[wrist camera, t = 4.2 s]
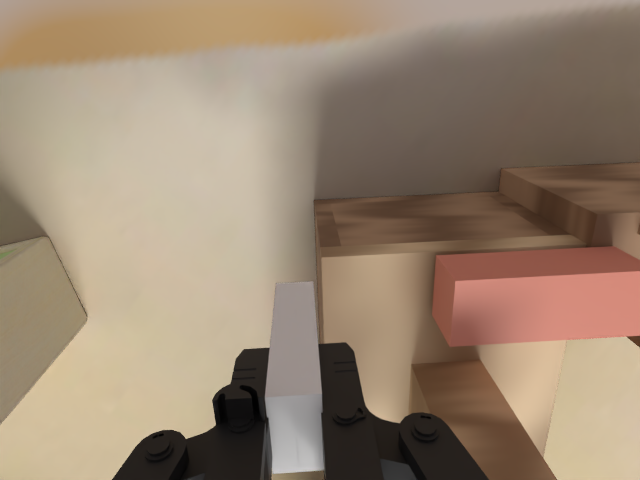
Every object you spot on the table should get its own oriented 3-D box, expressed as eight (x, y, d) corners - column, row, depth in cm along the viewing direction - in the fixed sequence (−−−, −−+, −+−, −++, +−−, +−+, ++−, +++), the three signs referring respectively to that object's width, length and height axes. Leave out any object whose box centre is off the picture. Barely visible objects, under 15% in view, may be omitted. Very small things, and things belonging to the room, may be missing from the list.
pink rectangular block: (431, 315, 20) (449, 346, 18) (436, 255, 19) (455, 280, 17) (600, 305, 20) (639, 335, 18) (614, 246, 19) (657, 270, 17)
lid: (330, 516, 27) (348, 760, 17) (320, 247, 20) (340, 402, 11) (520, 502, 27) (640, 733, 18) (570, 234, 21) (802, 372, 11)
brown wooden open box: (322, 419, 34) (335, 586, 23) (312, 177, 27) (323, 249, 16) (618, 400, 35) (767, 552, 24) (683, 160, 28) (937, 218, 17)
